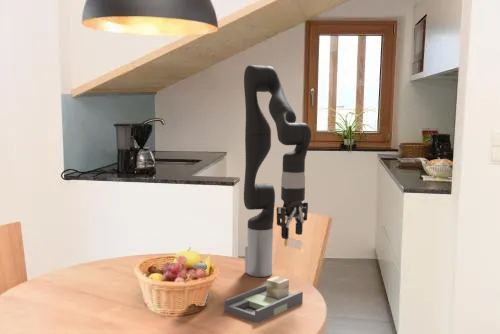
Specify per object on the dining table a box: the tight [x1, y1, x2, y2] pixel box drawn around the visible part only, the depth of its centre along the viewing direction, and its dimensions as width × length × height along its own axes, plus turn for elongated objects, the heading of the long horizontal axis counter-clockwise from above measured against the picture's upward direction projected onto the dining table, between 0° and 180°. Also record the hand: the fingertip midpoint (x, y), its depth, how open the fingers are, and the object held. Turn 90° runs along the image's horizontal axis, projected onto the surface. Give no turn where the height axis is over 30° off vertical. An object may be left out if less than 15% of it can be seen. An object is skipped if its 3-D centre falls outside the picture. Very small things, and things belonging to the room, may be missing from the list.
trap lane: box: [223, 283, 304, 324], centre depth 167 cm, size 13×22×4 cm, turn 139°
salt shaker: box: [192, 261, 210, 306], centre depth 168 cm, size 6×6×13 cm
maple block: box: [266, 275, 290, 299], centre depth 171 cm, size 5×5×5 cm
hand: (291, 236), depth 175 cm, fingers open, 7 cm apart
